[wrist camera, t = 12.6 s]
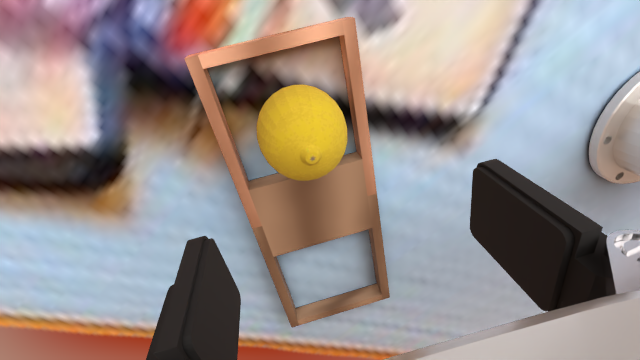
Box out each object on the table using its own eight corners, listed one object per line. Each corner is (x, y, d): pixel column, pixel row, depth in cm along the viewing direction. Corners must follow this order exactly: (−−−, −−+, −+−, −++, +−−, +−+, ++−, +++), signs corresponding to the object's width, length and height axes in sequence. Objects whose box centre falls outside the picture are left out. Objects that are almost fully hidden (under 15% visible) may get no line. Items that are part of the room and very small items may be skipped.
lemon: (279, 159, 25) (289, 219, 18) (240, 96, 22) (236, 139, 15) (342, 127, 24) (378, 175, 18) (311, 59, 22) (339, 84, 15)
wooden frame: (348, 17, 21) (354, 17, 20) (384, 286, 34) (389, 297, 33) (188, 55, 20) (184, 58, 19) (289, 315, 34) (291, 327, 32)
